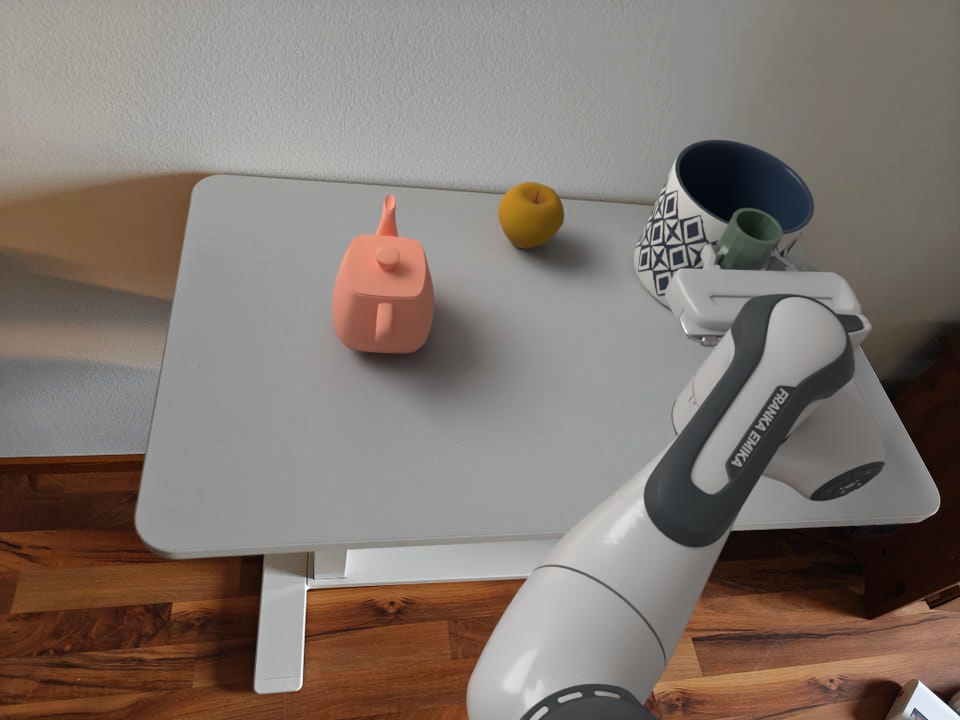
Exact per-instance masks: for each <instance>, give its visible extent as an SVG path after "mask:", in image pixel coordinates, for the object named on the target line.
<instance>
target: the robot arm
mask: <svg viewBox="0 0 960 720" xmlns="http://www.w3.org/2000/svg"><path fill="white" fill-rule="evenodd" d="M722 256H723V254H722V252H721V250H720V249H719V246H718V245H705V246H704V248H703V250H702V251H701V259H702V261H703V263H704V266H703V269H687V268H682V269H679V270H677V271H676V273H675V274H674V275H673V277H672V278H671V280H670V282H669V284H668V286H667V288H666V291H665V297H666V300H667V302H668V304H669V307H670V308H669V307H668V308H669V309H670V311H671V313H672V314H673V316H674V318H675V320H676V321H677V323H678V325H679V326H680V328H681V331H682V333H683V335H684V337H685V338H686V339H688V340H690V341H692V342H695V343H699V345H700V346H701V347H704V348H713V350H712V351H711V352H710V353H709V355H708V356H707V358H705V360H704V361H703V362H702V364H701V365H700V366H699V368H698V369H697V370H696V372H695V373H694V374H693V376H692V377H691V379H690V380H689V381H688V382H687V384H686V385H685V386H684V388H683V389H682V391H681V392H680V393H679V395H678V397H677V399H676V400H675V401H674V402H673V405H672V408H671V423H672V427H673V430H674V433H675V437H674V438H673V439H672V440H671V441H670V443H668V445H666V447H664V448H663V449H662V450H661V451H660V452H659V453H658V454H657V455H656V456H655V457H653V459H651V460H650V461H649V462H648V463H647V464H646V465H645V466H643V467H642V468H641V469H640V470H639V471H637V472H636V473H635V474H634V475H633V476H632V477H630V478H629V479H628V480H627V481H626V482H625V483H623V484H622V485H621V486H620V487H619V488H617V489H616V490H615V491H614V492H613V493H612V494H610V495H609V496H608V497H607V498H606V499H605V500H603V501H602V502H601V503H600V504H598V506H596V507H594V509H592V510H591V511H590V512H589V513H588V514H586V515H585V516H584V517H583V518H582V519H581V520H580V521H578V522H577V523H576V524H575V525H574V526H573V527H572V528H571V529H570V530H569V531H567V533H566V534H564V536H562V537H561V539H559V541H558V542H557V543H556V544H555V545H554V546H552V548H551V549H550V550H549V551H548V552H547V554H545V555H544V557H543V558H542V559H541V560H540V562H539V563H538V564H537V565H536V567H535V568H534V569H533V570H532V571H531V573H530V574H529V575H528V576H527V578H526V580H525V581H524V583H523V584H522V585H521V586H520V588H519V589H518V591H517V592H516V594H515V595H514V597H513V598H512V600H511V601H510V603H509V604H508V606H507V607H506V608H505V610H504V612H503V614H502V615H501V617H500V619H499V621H498V622H497V624H496V626H495V628H494V629H493V631H492V633H491V634H490V636H489V638H488V640H487V642H486V644H485V646H484V648H483V649H482V651H481V654H480V656H479V658H478V660H477V662H476V664H475V667H474V668H473V671H472V672H471V675H470V678H469V680H468V683H467V688H466V697H465V699H466V700H465V703H466V704H465V705H466V711H467V716H468V720H661V718H659V717H658V716H657V715H655V714H653V713H652V712H650V711H649V710H648V709H647V708H646V707H645V703H646V702H647V700H648V699H649V697H650V696H651V694H652V692H653V691H654V689H655V687H656V686H657V684H658V682H659V681H660V679H661V677H662V676H663V674H664V672H665V670H666V669H667V667H668V665H669V663H670V661H671V659H672V658H673V655H674V654H675V651H676V650H677V648H678V646H679V644H680V641H681V639H682V638H683V635H684V633H685V631H686V629H687V627H688V625H689V622H690V620H691V618H692V617H693V614H694V612H695V609H696V607H697V606H698V603H699V600H700V598H701V596H702V594H703V591H704V588H705V587H706V584H707V582H708V580H709V578H710V576H711V574H712V571H713V570H714V568H715V565H716V563H717V561H718V559H719V557H720V555H721V552H722V550H723V548H724V546H725V545H726V542H727V541H728V538H729V536H730V534H731V531H732V529H733V527H734V525H735V523H736V520H737V519H738V517H739V515H740V512H741V511H742V508H743V506H744V505H745V503H746V502H747V500H748V499H749V497H750V495H751V493H752V491H753V490H754V489H755V487H756V485H757V483H758V482H759V480H760V478H762V477H765V478H768V479H771V480H774V481H777V482H780V483H782V484H785V485H786V486H788V487H790V488H791V489H793V490H794V491H795V492H797V494H799V495H800V496H801V497H803V498H804V499H806V500H808V501H812V502H828V501H833V500H836V499H838V498H842V497H845V496H847V495H849V494H851V493H852V492H854V491H857V490H859V489H860V488H862V487H864V486H865V485H867V484H868V483H869V482H870V481H872V480H873V479H874V478H876V477H877V476H878V475H879V474H880V473H881V472H882V471H883V468H884V466H885V465H886V460H887V458H886V457H887V456H886V449H885V448H886V447H885V444H884V441H883V436H882V434H881V431H880V429H879V426H878V424H877V421H876V419H875V417H874V414H873V413H872V410H871V408H870V406H869V405H868V402H867V400H866V398H865V397H864V394H863V393H862V391H861V389H860V387H859V386H858V384H857V383H856V382H855V381H854V380H853V377H854V375H855V372H856V363H855V354H854V353H855V352H854V351H856V349H857V348H859V346H860V345H861V344H862V343H863V342H864V340H865V339H866V338H867V336H868V335H869V334H870V332H871V331H872V330H873V326H872V324H871V322H870V321H869V320H868V318H867V316H865V315H863V314H862V306H861V304H860V302H859V299H858V298H857V296H856V294H855V292H854V290H853V288H852V286H850V284H849V282H848V281H847V280H846V279H845V278H844V277H842V276H841V275H840V274H837V273H836V272H833V271H798V269H797V267H796V266H795V265H793V264H792V263H791V262H789V261H788V260H787V259H786V258H785V259H784V258H782V257H780V255H779V253H778V251H777V249H776V248H775V250H774V251H773V253H772V254H771V256H770V257H769V259H768V260H767V262H766V263H765V265H764V266H763V267H764V268H768V269H769V270H770V271H761V270H724V269H721V268H720V266H719V265H717V264H718V262H719V261H718V260H720V259H721V257H722Z"/></svg>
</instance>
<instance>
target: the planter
mask: <svg viewBox="0 0 960 720" xmlns="http://www.w3.org/2000/svg"><path fill="white" fill-rule="evenodd" d="M814 201H815V200H814V197H813V194H812V192H811V190H810V189H809V187H808V185H807V184H806V182H805V181H804V180H803V178H802V177H801V176H800V175H799V174H798V173H797V172H796V171H795V170H794V169H793V168H792V167H790V166H789V165H788V164H787V163H785V162H784V161H782V160H780V159H779V158H778V157H776V156H775V155H773V154H771V153H769V152H767V151H765V150H763V149H760V148H758V147H755V146H752V145H750V144H746V143H743V142H739V141H733V140H727V139H706V140H701V141H697V142H694V143H692V144H690V145H688V146H686V147H685V148H683V149H682V150H681V151H680V152H679V153H678V155H677V157H676V158H675V161H674V162H673V164H672V167H671V168H670V171H669V173H668V175H667V177H666V179H665V182H664V184H663V186H662V187H661V190H660V193H659V194H658V197H657V199H656V201H655V204H654V205H653V208H652V210H651V213H650V215H649V216H648V219H647V221H646V223H645V225H644V228H643V230H642V232H641V234H640V236H639V238H638V241H637V243H636V245H635V248H634V251H633V259H632V260H633V266H634V270H635V273H636V275H637V277H638V279H639V281H640V283H641V284H642V285H643V287H644V288H645V289H646V290H647V291H648V293H649V294H650V295H651V296H652V297H654V299H656V300H657V301H658V302H659V303H661V304H662V305H664V306H666V307H667V308H669V309H670V307H669V304H668V302H667V300H666V297H665V291H666V288H667V286H668V284H669V282H670V280H671V278H672V277H673V275H674V274H675V273H676V271H677V270H679V269H682V268H687V269H702V268H703V266H704V263H703V261H702V259H701V251H702V250H703V248H704V246H705V245H716V244H717V242H718V240H719V238H720V237H721V235H722V233H723V231H724V229H725V228H726V226H727V224H728V222H729V221H730V219H731V217H732V215H733V213H734V212H736V211H737V210H739V209H743V208H753V209H758V210H760V211H763V212H765V213H767V214H769V215H770V216H772V217H773V218H775V219H776V220H777V222H778V223H779V224H780V225H781V228H782V230H783V236H782V239H781V240H780V242H779V244H778V245H777V247H776V249H777V251H778V253H779V255H780V257H782V258H784V259H785V260H786V258H787V257H788V255H789V253H790V252H791V250H793V248H794V246H795V245H796V243H797V242H798V240H799V239H800V237H802V235H803V233H804V232H805V230H806V228H808V226H809V225H810V223H811V221H812V219H813V217H814V214H815V202H814ZM761 271H770V270H769V269H768V268H764V267H763V268H762V269H761Z"/></svg>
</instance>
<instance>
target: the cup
mask: <svg viewBox="0 0 960 720" xmlns="http://www.w3.org/2000/svg"><path fill="white" fill-rule="evenodd" d="M782 236H783V230H782V228H781V225H780V224H779V223H778V222H777V220H776V219H775V218H773V217H772V216H770V215H769V214H767V213H765V212H763V211H760V210H758V209H753V208H743V209H739V210H737V211H736V212H734V213H733V215H732V217H731V219H730V221H729V222H728V224H727V226H726V228H725V229H724V231H723V233H722V235H721V237H720V238H719V240H718V242H717V244H716V245H718V246H719V249H720V250H721V252H722V254H723V256H722V257H721V259H720V260H718V261H719V262H718V264H717V265H719V266H720V268H721V269H724V270H761V269H762V268H763V266H764V265H765V263H766V262H767V260H768V259H769V257H770V256H771V254H772V253H773V251H774V250H775V248H776V247H777V245H778V244H779V242H780V240H781V239H782ZM702 269H703V268H702Z"/></svg>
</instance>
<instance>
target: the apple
mask: <svg viewBox="0 0 960 720" xmlns="http://www.w3.org/2000/svg"><path fill="white" fill-rule="evenodd" d="M497 214H498V220H499V221H498V222H499V224H500V226H501V229H502V231H503V233H504V235H505V236H506V238H507V239H508V240H509V242H510V243H511V244H512V245H513V246H515V247H517V248H519V249H525V250H528V249H532V248H535V247H538V246H540V245H544V244H546V243H547V242H549V241H550V240H551V239H552V238H553V237H554V236H555V235H556V234H557V233H558V232H559V231H560V229H561V227H562V226H563V224H564V221H565V210H564V205H563V203H562V200H561V198H560V196H559V195H558V193H557V192H556V191H555V190H554V189H553V188H552V187H550V186H548V185H545V184H541V183H539V182H533V181H526V182H521V183H519V184H517V185H516V186H514V187H512V188H511V189H509V190H508V191H507V192H506V194H505V195H504V196H503V197H502V198H501V200H500V202H499V206H498V209H497Z"/></svg>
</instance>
